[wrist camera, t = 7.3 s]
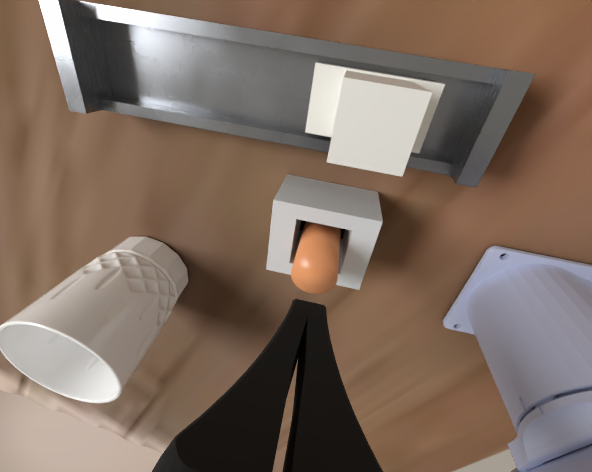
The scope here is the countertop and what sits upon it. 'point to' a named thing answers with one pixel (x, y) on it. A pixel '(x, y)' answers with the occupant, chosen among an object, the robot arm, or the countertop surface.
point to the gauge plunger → (317, 258)
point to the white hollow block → (328, 211)
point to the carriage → (371, 116)
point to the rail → (262, 81)
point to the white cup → (97, 321)
